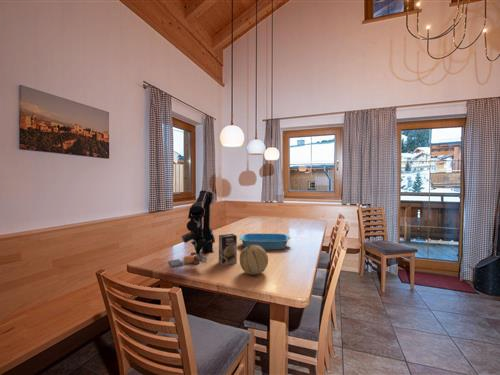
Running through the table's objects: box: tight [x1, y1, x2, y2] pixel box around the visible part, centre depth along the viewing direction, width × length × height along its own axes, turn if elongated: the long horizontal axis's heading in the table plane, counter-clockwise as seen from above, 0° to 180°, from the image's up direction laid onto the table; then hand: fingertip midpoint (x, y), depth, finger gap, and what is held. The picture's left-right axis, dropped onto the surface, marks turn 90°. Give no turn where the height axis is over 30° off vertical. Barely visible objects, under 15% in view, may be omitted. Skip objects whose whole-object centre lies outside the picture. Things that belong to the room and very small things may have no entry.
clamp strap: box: [195, 252, 208, 264], centre depth 127 cm, size 2×10×2 cm, turn 30°
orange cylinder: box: [183, 255, 196, 265], centre depth 137 cm, size 9×4×4 cm, turn 120°
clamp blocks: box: [190, 251, 200, 265], centre depth 138 cm, size 2×9×4 cm, turn 30°
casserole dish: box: [239, 232, 291, 250], centre depth 170 cm, size 37×22×7 cm, turn 85°
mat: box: [168, 258, 184, 268], centre depth 134 cm, size 6×10×1 cm, turn 30°
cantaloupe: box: [239, 245, 269, 276], centre depth 120 cm, size 15×15×15 cm
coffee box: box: [218, 233, 238, 266], centre depth 136 cm, size 9×6×16 cm
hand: (197, 254), depth 133 cm, fingers closed
